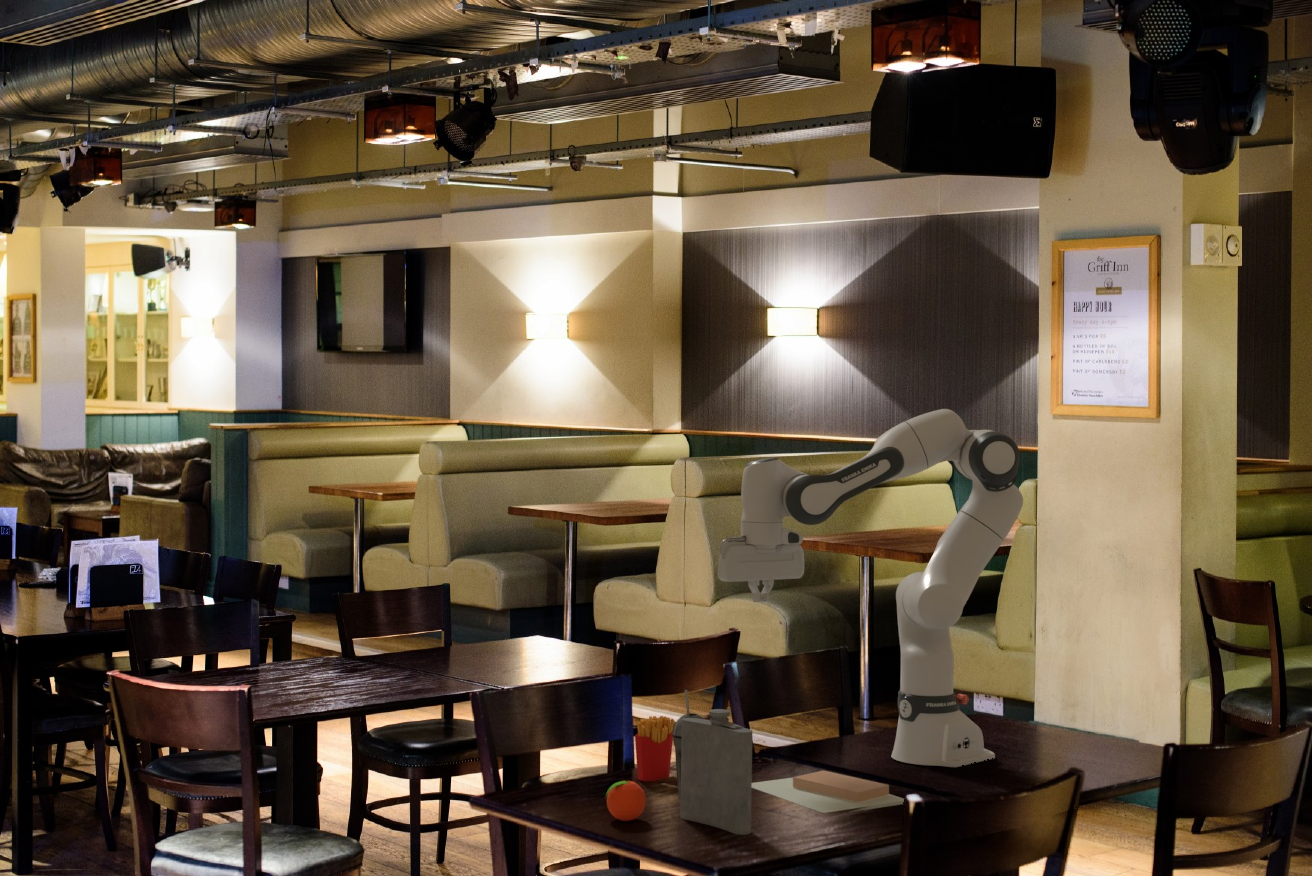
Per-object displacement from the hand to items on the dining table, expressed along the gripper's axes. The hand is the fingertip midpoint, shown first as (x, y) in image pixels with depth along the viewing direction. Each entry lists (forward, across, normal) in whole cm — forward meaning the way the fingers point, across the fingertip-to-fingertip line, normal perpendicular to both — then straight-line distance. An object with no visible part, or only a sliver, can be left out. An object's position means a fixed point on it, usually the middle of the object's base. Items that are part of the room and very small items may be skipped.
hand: (760, 601), depth 320 cm
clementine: (+33, -50, -29) cm, 67 cm away
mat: (+33, -7, -31) cm, 46 cm away
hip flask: (+33, -37, -39) cm, 63 cm away
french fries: (+33, -28, -4) cm, 44 cm away
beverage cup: (+33, -30, -20) cm, 49 cm away
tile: (+31, -6, -24) cm, 40 cm away
